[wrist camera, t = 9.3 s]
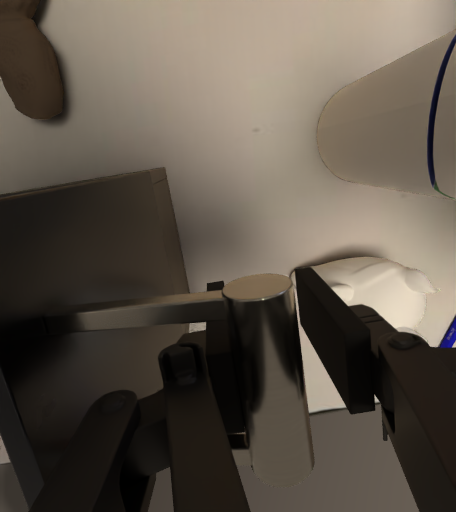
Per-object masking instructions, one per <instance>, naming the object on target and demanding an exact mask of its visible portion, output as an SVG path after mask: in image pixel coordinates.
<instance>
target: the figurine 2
mask: <svg viewBox="0 0 456 512" xmlns="http://www.w3.org/2000/svg"><path fill="white" fill-rule="evenodd" d="M39 2H40V0H0V77H1V78H2V81H3V84H4V87H5V89H6V91H7V92H8V94H9V96H10V97H11V99H12V101H13V102H14V105H15V108H16V109H17V110H18V111H20V112H21V113H23V114H24V115H26V116H28V117H30V118H34V119H43V120H45V119H49V118H51V117H53V116H55V115H57V114H59V113H61V112H62V109H63V105H62V104H63V87H62V82H61V78H60V75H59V68H58V63H57V59H56V55H55V52H54V50H53V48H52V46H51V44H50V42H49V41H48V40H47V39H46V37H45V36H44V35H43V34H42V33H41V32H40V31H39V30H38V29H37V28H36V24H35V22H34V21H33V20H31V19H30V18H32V17H33V16H34V14H35V11H36V8H37V5H38V4H39Z"/></svg>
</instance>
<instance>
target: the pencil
mask: <svg viewBox="0 0 456 512" xmlns="http://www.w3.org/2000/svg"><path fill="white" fill-rule="evenodd" d="M455 341H456V318H455V320H454V321H453V323H452V325H451V327H450V329H449V331H448V332H447V334H446V336H445V338H444V340H443V341H442V343H441V345H440V347H441V348H452V346H453V344H454V342H455Z"/></svg>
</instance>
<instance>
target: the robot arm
mask: <svg viewBox="0 0 456 512" xmlns="http://www.w3.org/2000/svg"><path fill="white" fill-rule="evenodd" d="M294 271H295V279H296V288H297V297H298V306H299V315H300V324H301V326H302V327H303V329H304V331H305V333H306V335H307V336H308V338H309V340H310V342H311V344H312V345H313V347H314V349H315V351H316V353H317V354H318V356H319V358H320V360H321V362H322V363H323V365H324V367H325V369H326V371H327V373H328V374H329V376H330V378H331V380H332V382H333V383H334V385H335V387H336V389H337V391H338V392H339V394H340V396H341V398H342V400H343V401H344V403H345V405H346V407H347V409H348V410H349V412H350V414H357V413H363V412H369V411H375V398H374V394H375V396H376V397H377V399H378V400H379V401H380V403H381V408H382V426H383V440H384V441H387V435H388V434H389V437H390V439H391V442H392V444H393V447H394V449H395V452H396V454H397V457H398V459H399V462H400V464H401V467H402V469H403V472H404V474H405V477H406V479H407V482H408V484H409V487H410V489H411V492H412V494H413V496H414V499H415V502H416V504H417V507H418V509H419V511H420V512H456V348H441V347H430V346H429V344H428V343H427V342H426V341H425V340H424V339H423V338H422V337H420V336H418V335H415V334H413V333H408V332H398V331H397V330H396V329H395V328H394V327H393V326H392V325H391V324H390V323H388V322H387V321H386V320H385V319H384V318H383V317H382V316H381V315H379V313H377V312H376V311H375V310H374V309H373V308H371V307H368V306H366V305H363V304H358V305H352V306H347V304H346V303H345V302H344V301H343V300H342V299H341V298H340V297H339V296H338V295H337V294H336V293H335V292H334V291H333V290H332V289H331V288H330V286H329V285H328V284H327V283H326V282H325V281H324V280H323V279H322V278H321V277H320V276H319V275H318V274H317V273H316V272H315V271H314V270H313V268H312V267H305V268H299V269H294ZM223 287H224V281H218V282H212V283H207V292H209V291H219V290H222V289H223ZM158 363H159V367H160V371H161V376H162V380H163V388H162V389H161V390H160V391H158V392H156V393H154V394H152V395H150V396H147V397H144V398H142V399H139V400H138V397H137V395H136V394H135V392H133V391H130V390H117V391H112V392H109V393H107V394H105V395H103V396H102V397H100V398H99V399H97V400H96V401H95V402H94V403H93V404H92V405H91V406H90V408H89V410H88V411H87V413H86V415H85V416H84V418H83V420H82V421H81V423H80V425H79V427H78V428H77V430H76V432H75V433H74V435H73V437H72V438H71V440H70V442H69V444H68V445H67V447H66V449H65V450H64V452H63V454H62V455H61V457H60V459H59V461H58V462H57V464H56V466H55V467H54V469H53V471H52V472H51V474H50V476H49V478H48V479H47V481H46V483H45V484H44V486H43V488H42V489H41V491H40V493H39V495H38V496H37V498H36V500H35V501H34V503H33V505H32V506H31V508H30V510H29V512H148V507H149V504H150V500H151V496H152V492H153V488H154V484H155V481H156V473H157V472H159V471H161V470H164V469H166V468H168V467H170V470H171V482H172V494H173V506H174V512H251V511H250V508H249V505H248V502H247V498H246V495H245V492H244V489H243V486H242V482H241V479H240V476H239V473H238V469H237V466H236V463H235V460H234V456H233V453H232V450H231V447H230V443H229V440H228V437H227V435H229V434H235V433H242V432H245V428H244V421H243V415H242V410H241V404H240V398H239V392H238V386H237V381H236V375H235V369H234V363H233V357H232V351H231V346H230V340H229V335H228V329H227V323H226V320H222V321H210V322H206V330H204V331H197V332H191V333H185V334H183V335H182V336H181V337H180V338H179V339H178V341H177V343H175V344H172V345H170V346H168V347H166V348H164V349H163V350H162V351H161V352H160V353H159V355H158Z"/></svg>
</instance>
